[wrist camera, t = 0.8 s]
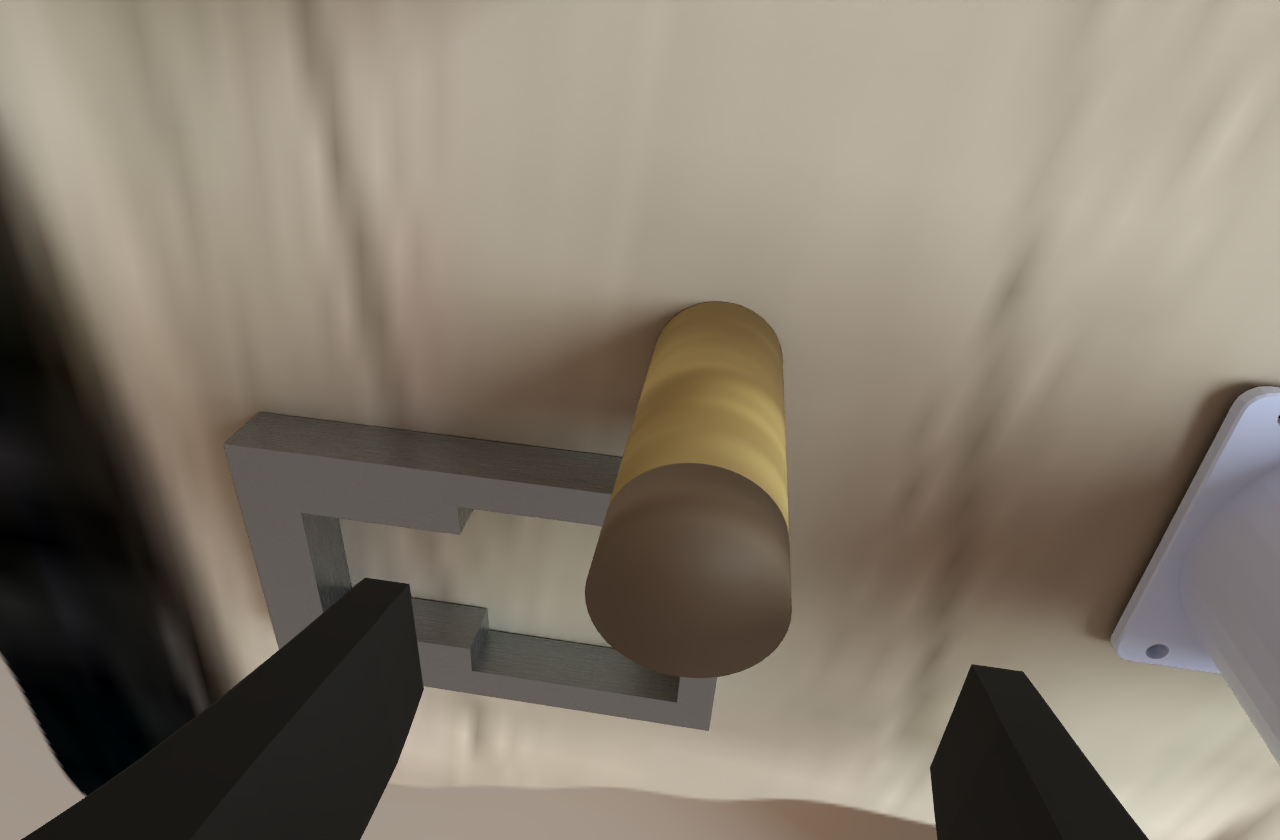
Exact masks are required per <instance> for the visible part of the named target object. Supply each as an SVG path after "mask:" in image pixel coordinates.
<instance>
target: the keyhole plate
mask: <svg viewBox="0 0 1280 840" xmlns="http://www.w3.org/2000/svg"><path fill="white" fill-rule="evenodd" d="M223 445H224V449H225V452H226V456H227V460H228V463H229V467H230V471H231V474H232V478H233V482H234V486H235V489H236V493H237V497H238V500H239V504H240V508H241V511H242V515H243V519H244V522H245V526H246V530H247V533H248V537H249V541H250V544H251V548H252V552H253V555H254V559H255V563H256V566H257V570H258V574H259V577H260V581H261V585H262V588H263V592H264V596H265V599H266V603H267V607H268V611H269V614H270V618H271V622H272V625H273V629H274V633H275V636H276V640H277V644H278V647H279V650H280V649H281V648H282V647H283V646H284V645H286V644H287V643H288V642H289V641H290V640H292V639H293V638H294V637H295V636H296V635H297V634H299V633H300V632H301V631H302V630H303V629H305V628H306V627H307V626H308V625H309V624H310V623H312V622H313V621H314V620H315V619H316V618H317V617H319V616H320V615H321V614H322V613H323V612H325V611H326V610H327V609H328V608H329V607H330V606H332V605H333V604H334V603H335V602H336V601H337V600H339V599H340V598H341V597H342V596H343V595H345V594H346V593H347V592H348V591H349V590H351V589H352V588H351V583H350V578H349V573H348V567H347V562H346V557H345V552H344V546H343V541H342V536H341V531H340V525H339V520H338V518H342V519H350V520H357V521H364V522H372V523H379V524H386V525H393V526H401V527H408V528H415V529H423V530H430V531H437V532H444V533H452V534H459V535H460V533H461V532H462V530H463V528H464V526H465V524H466V522H467V520H468V519H469V517H470V515H471V513H472V511H473V509H479V510H486V511H493V512H501V513H508V514H516V515H523V516H531V517H538V518H546V519H553V520H561V521H568V522H576V523H583V524H591V525H598V526H603V523H604V519H605V516H606V512H607V509H608V506H609V502H610V499H611V495H612V492H613V489H614V485H615V482H616V478H617V475H618V472H619V468H620V465H621V461H622V457H614V456H606V455H598V454H590V453H582V452H574V451H566V450H558V449H550V448H542V447H534V446H526V445H518V444H510V443H502V442H494V441H486V440H478V439H470V438H462V437H454V436H446V435H438V434H430V433H422V432H414V431H406V430H398V429H390V428H382V427H374V426H366V425H358V424H350V423H342V422H334V421H326V420H318V419H310V418H302V417H294V416H286V415H278V414H270V413H262V412H259V413H258V414H256V415H255V416H254V417H253V418H252V419H251V420H250V421H249V422H247V423H246V424H245V425H244V426H243V427H242V428H241V429H240V430H238V431H237V432H236V433H235V434H234V435H233V436H232V437H231V438H229V439H228V440H227V441H226V442H225V443H224V444H223ZM411 600H412V607H413V615H414V622H415V629H416V636H417V644H418V651H419V658H420V665H421V673H422V680H423V686H426V687H433V688H439V689H445V690H452V691H458V692H465V693H471V694H477V695H484V696H490V697H496V698H503V699H509V700H515V701H522V702H528V703H535V704H541V705H547V706H554V707H560V708H566V709H573V710H579V711H586V712H592V713H598V714H605V715H611V716H617V717H624V718H630V719H636V720H643V721H649V722H656V723H662V724H668V725H675V726H681V727H687V728H694V729H700V730H706V731H709V726H710V719H711V713H712V706H713V700H714V693H715V687H716V680H717V677H711V678H687V677H678V676H673V675H668V674H664V673H660V672H657V671H654V670H651V669H648V668H646V667H643V666H641V665H639V664H637V663H635V662H633V661H631V660H630V659H628V658H627V657H625V656H623V655H622V654H620V653H619V652H618V651H617V650H615V649H612V648H605V647H599V646H592V645H585V644H578V643H572V642H565V641H558V640H552V639H545V638H538V637H531V636H525V635H518V634H511V633H504V632H498V631H491V630H489V625H488V611H487V609H484V608H477V607H471V606H464V605H457V604H450V603H443V602H436V601H429V600H423V599H416V598H411Z"/></svg>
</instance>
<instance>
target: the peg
mask: <svg viewBox="0 0 1280 840" xmlns="http://www.w3.org/2000/svg"><path fill="white" fill-rule="evenodd" d="M585 599H586V605H587V609H588V613H589V615H590V618H591V620H592V622H593V624H594V625H595V627H596V629H597V630H598V632H599V633H600V634H601V636H602V637H603V638H604V639H605V640H606V641H607V642H608V643H609V644H610V645H611V646H612V647H613V648H614V649H615V650H617V651H618V652H619V653H620V654H622V655H623V656H625V657H627V658H628V659H630V660H631V661H633V662H635V663H637V664H639V665H641V666H643V667H646V668H648V669H651V670H654V671H657V672H660V673H664V674H668V675H673V676H678V677H687V678H711V677H719V676H725V675H730V674H733V673H737V672H740V671H742V670H745V669H747V668H750V667H752V666H754V665H755V664H757V663H759V662H761V661H762V660H763V659H765V658H766V657H767V656H769V655H770V654H771V653H772V652H773V651H774V650H775V649H776V648H777V647H778V645H779V644H780V643H781V641H782V640H783V638H784V636H785V634H786V633H787V631H788V627H789V624H790V621H791V612H792V606H791V579H790V551H789V523H788V495H787V467H786V439H785V411H784V383H783V357H782V350H781V346H780V343H779V340H778V338H777V336H776V334H775V332H774V331H773V329H772V328H771V327H770V325H769V324H768V323H767V322H766V321H765V320H764V319H763V318H762V317H760V316H759V315H758V314H756V313H755V312H753V311H751V310H750V309H748V308H745V307H743V306H740V305H737V304H734V303H728V302H706V303H701V304H697V305H694V306H691V307H689V308H687V309H685V310H683V311H681V312H680V313H678V314H677V315H675V316H674V317H673V318H672V319H671V320H670V321H669V322H668V323H667V324H666V325H665V327H664V328H663V330H662V331H661V333H660V335H659V337H658V339H657V342H656V345H655V349H654V352H653V356H652V359H651V362H650V366H649V369H648V373H647V376H646V379H645V383H644V386H643V390H642V393H641V396H640V400H639V403H638V407H637V410H636V414H635V417H634V420H633V424H632V427H631V431H630V434H629V437H628V441H627V444H626V448H625V451H624V454H623V458H622V461H621V465H620V468H619V472H618V475H617V478H616V482H615V485H614V489H613V492H612V495H611V499H610V502H609V506H608V509H607V512H606V516H605V519H604V523H603V526H602V530H601V533H600V536H599V540H598V543H597V547H596V550H595V553H594V557H593V560H592V564H591V567H590V570H589V574H588V577H587V581H586V588H585Z"/></svg>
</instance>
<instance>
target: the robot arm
mask: <svg viewBox="0 0 1280 840" xmlns="http://www.w3.org/2000/svg"><path fill="white" fill-rule="evenodd" d="M1279 415H1280V387H1272V386H1263V387H1256V388H1253V389H1250V390H1247V391H1246V392H1244V393H1243V394H1241V395H1240V396H1239V397H1238V398H1237V399H1236V400H1235V402H1234V403H1233V404H1232V406H1231V408H1230V410H1229V412H1228V414H1227V416H1226V418H1225V420H1224V422H1223V423H1222V425H1221V427H1220V429H1219V431H1218V433H1217V435H1216V437H1215V439H1214V441H1213V443H1212V444H1211V446H1210V448H1209V450H1208V452H1207V454H1206V456H1205V458H1204V460H1203V462H1202V464H1201V465H1200V467H1199V469H1198V471H1197V473H1196V475H1195V477H1194V479H1193V481H1192V483H1191V485H1190V486H1189V488H1188V490H1187V492H1186V494H1185V496H1184V498H1183V500H1182V502H1181V504H1180V506H1179V507H1178V509H1177V511H1176V513H1175V515H1174V517H1173V519H1172V521H1171V523H1170V525H1169V527H1168V528H1167V530H1166V532H1165V534H1164V536H1163V538H1162V540H1161V542H1160V544H1159V546H1158V548H1157V549H1156V551H1155V553H1154V555H1153V557H1152V559H1151V561H1150V563H1149V565H1148V567H1147V569H1146V570H1145V572H1144V574H1143V576H1142V578H1141V580H1140V582H1139V584H1138V586H1137V588H1136V590H1135V591H1134V593H1133V595H1132V597H1131V599H1130V601H1129V603H1128V605H1127V607H1126V609H1125V611H1124V612H1123V614H1122V616H1121V618H1120V620H1119V622H1118V624H1117V626H1116V628H1115V630H1114V632H1113V633H1112V635H1111V639H1110V642H1111V645H1112V647H1113V649H1114V651H1115V653H1116V655H1117V656H1119V657H1120V658H1121V659H1124V660H1128V661H1134V662H1141V663H1148V664H1155V665H1162V666H1169V667H1176V668H1183V669H1190V670H1197V671H1205V672H1212V673H1219V674H1222V676H1223V677H1224V679H1225V681H1226V682H1227V684H1228V685H1229V687H1230V688H1231V690H1232V692H1233V693H1234V695H1235V696H1236V698H1237V700H1238V701H1239V703H1240V704H1241V706H1242V707H1243V709H1244V711H1245V712H1246V714H1247V715H1248V717H1249V718H1250V720H1251V722H1252V723H1253V725H1254V726H1255V728H1256V729H1257V731H1258V733H1259V734H1260V736H1261V737H1262V739H1263V740H1264V742H1265V744H1266V745H1267V747H1268V748H1269V750H1270V751H1271V753H1272V755H1273V756H1274V758H1275V759H1276V761H1277V763H1278V764H1279V766H1280V419H1278V416H1279ZM1155 644H1159V645H1157V646H1154V647H1150V646H1153V645H1155ZM423 690H424V687H423V680H422V673H421V665H420V658H419V651H418V644H417V636H416V629H415V622H414V615H413V607H412V600H411V593H410V586H409V584H405V583H398V582H391V581H384V580H377V579H370V578H364V579H363V580H362V581H361V582H359V583H358V584H357V585H355V586H354V587H353V588H352V589H351V590H349V591H348V592H347V593H346V594H345V595H343V596H342V597H341V598H340V599H339V600H337V601H336V602H335V603H334V604H333V605H332V606H330V607H329V608H328V609H327V610H326V611H325V612H323V613H322V614H321V615H320V616H319V617H317V618H316V619H315V620H314V621H313V622H312V623H310V624H309V625H308V626H307V627H306V628H305V629H303V630H302V631H301V632H300V633H299V634H297V635H296V636H295V637H294V638H293V639H292V640H290V641H289V642H288V643H287V644H286V645H284V646H283V647H282V648H281V649H280V650H278V651H277V652H276V653H275V654H274V655H272V656H271V657H270V658H269V659H268V660H266V661H265V662H264V663H263V664H261V665H260V666H259V667H258V668H257V669H255V670H254V671H253V672H252V673H250V674H249V675H248V676H247V677H245V678H244V679H243V680H242V681H240V682H239V683H238V684H237V685H236V686H234V687H233V688H232V689H231V690H229V691H228V692H227V693H226V694H224V695H223V696H222V697H221V698H220V699H218V700H217V701H216V702H214V703H213V704H212V705H211V706H209V707H208V708H207V709H206V710H204V711H203V712H202V713H200V714H199V715H198V716H196V717H195V718H194V719H192V720H191V721H190V722H188V723H187V724H186V725H184V726H183V727H182V728H180V729H179V730H178V731H176V732H175V733H174V734H172V735H171V736H170V737H168V738H167V739H166V740H164V741H163V742H162V743H160V744H159V745H158V746H156V747H155V748H154V749H152V750H151V751H150V752H148V753H147V754H146V755H144V756H143V757H142V758H140V759H139V760H138V761H136V762H135V763H134V764H132V765H131V766H129V767H128V768H127V769H125V770H124V771H122V772H121V773H120V774H118V775H117V776H115V777H114V778H112V779H111V780H110V781H108V782H107V783H105V784H104V785H103V786H101V787H100V788H98V789H97V790H95V791H94V792H92V793H91V794H89V795H88V796H87V797H85V798H84V799H82V800H81V801H79V802H78V803H76V804H75V805H73V806H72V807H70V808H69V809H67V810H66V811H64V812H63V813H61V814H60V815H58V816H57V817H55V818H54V819H52V820H51V821H49V822H48V823H46V824H45V825H43V826H42V827H40V828H39V829H37V830H35V831H34V832H32V833H31V834H29V835H28V836H26V837H25V838H23V839H21V840H360V839H361V836H362V835H363V833H364V831H365V829H366V827H367V825H368V823H369V821H370V819H371V817H372V815H373V813H374V810H375V808H376V806H377V804H378V802H379V800H380V798H381V796H382V794H383V792H384V790H385V788H386V786H387V784H388V782H389V780H390V778H391V775H392V773H393V771H394V769H395V767H396V765H397V763H398V760H399V757H400V754H401V752H402V749H403V746H404V744H405V741H406V738H407V736H408V733H409V730H410V727H411V725H412V722H413V719H414V716H415V713H416V710H417V707H418V704H419V701H420V699H421V696H422V693H423ZM930 772H931V782H932V792H933V803H934V813H935V822H936V830H937V838H938V840H1149V839H1148V838H1147V837H1146V835H1145V834H1144V833H1143V831H1142V830H1141V829H1140V828H1139V826H1138V825H1137V824H1136V823H1135V821H1134V820H1133V819H1132V817H1131V816H1130V815H1129V814H1128V812H1127V811H1126V810H1125V808H1124V807H1123V806H1122V804H1121V803H1120V802H1119V800H1118V799H1117V798H1116V797H1115V795H1114V794H1113V793H1112V791H1111V790H1110V789H1109V787H1108V786H1107V785H1106V783H1105V782H1104V781H1103V779H1102V778H1101V777H1100V775H1099V774H1098V772H1097V771H1096V770H1095V768H1094V767H1093V766H1092V764H1091V763H1090V762H1089V760H1088V759H1087V758H1086V756H1085V755H1084V754H1083V752H1082V751H1081V750H1080V748H1079V747H1078V745H1077V744H1076V743H1075V741H1074V740H1073V739H1072V737H1071V736H1070V735H1069V733H1068V732H1067V730H1066V729H1065V728H1064V726H1063V725H1062V724H1061V722H1060V721H1059V720H1058V718H1057V717H1056V715H1055V714H1054V713H1053V711H1052V710H1051V709H1050V707H1049V706H1048V705H1047V703H1046V702H1045V700H1044V699H1043V698H1042V696H1041V695H1040V694H1039V692H1038V691H1037V690H1036V688H1035V687H1034V686H1033V684H1032V683H1031V682H1030V680H1029V679H1028V678H1027V676H1026V675H1025V674H1024V672H1022V671H1015V670H1008V669H1001V668H994V667H986V666H979V665H971V667H970V670H969V672H968V675H967V677H966V680H965V682H964V685H963V687H962V690H961V692H960V695H959V697H958V700H957V702H956V705H955V707H954V710H953V712H952V715H951V717H950V720H949V722H948V725H947V727H946V730H945V732H944V735H943V737H942V740H941V742H940V744H939V747H938V749H937V752H936V754H935V757H934V759H933V762H932V764H931V767H930Z"/></svg>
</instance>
